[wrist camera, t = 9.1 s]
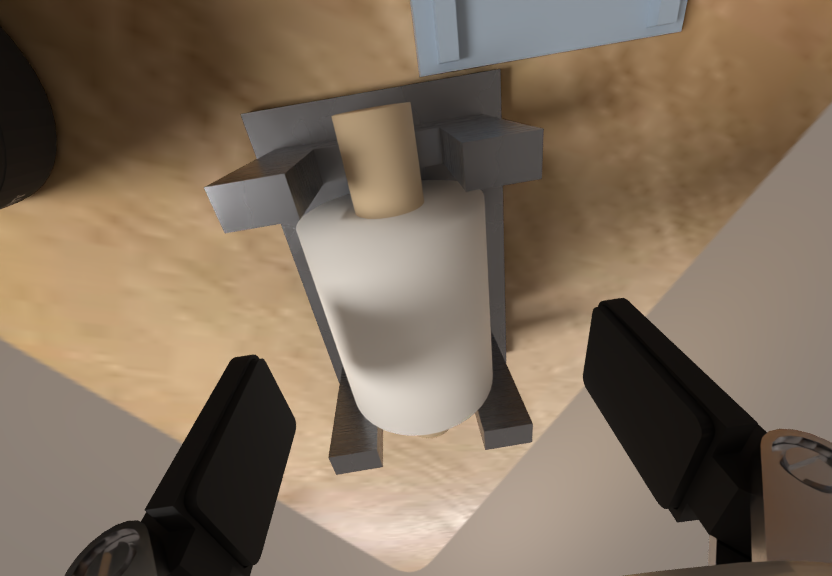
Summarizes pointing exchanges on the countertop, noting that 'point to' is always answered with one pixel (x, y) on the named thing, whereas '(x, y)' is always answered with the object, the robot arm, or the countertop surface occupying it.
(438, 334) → the paper roll
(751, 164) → the countertop surface
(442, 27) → the rest
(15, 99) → the pen holder
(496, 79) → the holder
